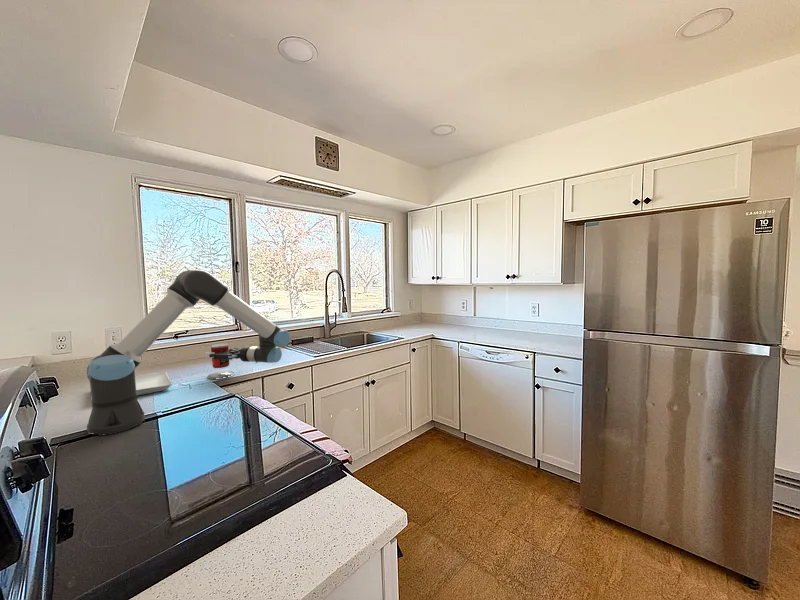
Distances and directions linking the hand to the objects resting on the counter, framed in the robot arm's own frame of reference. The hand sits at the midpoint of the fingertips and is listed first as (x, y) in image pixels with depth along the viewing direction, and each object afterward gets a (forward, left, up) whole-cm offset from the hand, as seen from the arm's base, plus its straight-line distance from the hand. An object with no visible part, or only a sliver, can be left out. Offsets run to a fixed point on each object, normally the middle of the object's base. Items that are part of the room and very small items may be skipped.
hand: (212, 352), depth 173 cm
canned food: (0, -5, -7) cm, 9 cm away
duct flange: (0, -5, -12) cm, 13 cm away
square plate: (-26, +19, -12) cm, 35 cm away
